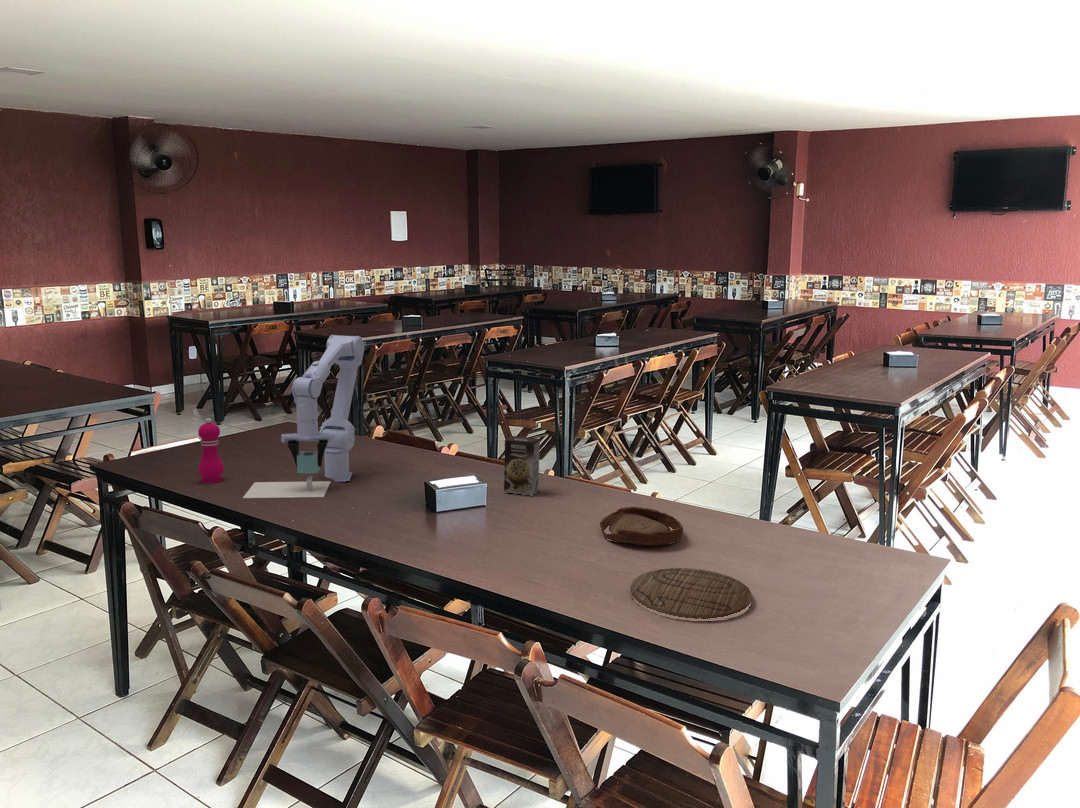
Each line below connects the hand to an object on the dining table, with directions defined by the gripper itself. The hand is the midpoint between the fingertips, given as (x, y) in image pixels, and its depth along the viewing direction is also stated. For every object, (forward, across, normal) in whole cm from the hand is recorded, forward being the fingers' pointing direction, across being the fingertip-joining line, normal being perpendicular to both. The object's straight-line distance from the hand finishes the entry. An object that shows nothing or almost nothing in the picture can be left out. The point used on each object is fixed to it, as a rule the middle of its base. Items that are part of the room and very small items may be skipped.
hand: (308, 465), depth 255 cm
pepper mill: (+8, -30, +11) cm, 33 cm away
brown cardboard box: (+8, +61, -2) cm, 62 cm away
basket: (+9, +88, -42) cm, 98 cm away
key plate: (+8, -6, 0) cm, 10 cm away
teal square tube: (+1, 0, 0) cm, 1 cm away
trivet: (+9, +90, -81) cm, 121 cm away
